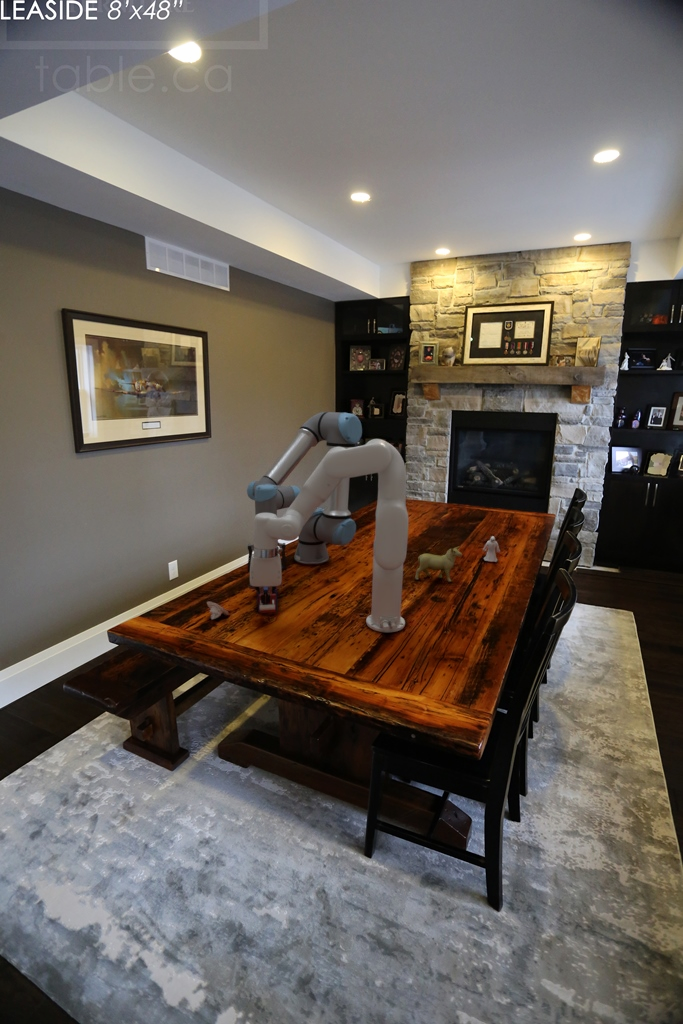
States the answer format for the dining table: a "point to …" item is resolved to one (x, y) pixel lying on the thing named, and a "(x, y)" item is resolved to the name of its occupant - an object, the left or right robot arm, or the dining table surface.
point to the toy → (438, 563)
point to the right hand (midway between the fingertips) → (265, 604)
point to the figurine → (491, 550)
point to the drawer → (271, 606)
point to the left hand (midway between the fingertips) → (267, 588)
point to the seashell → (216, 610)
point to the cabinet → (266, 591)
